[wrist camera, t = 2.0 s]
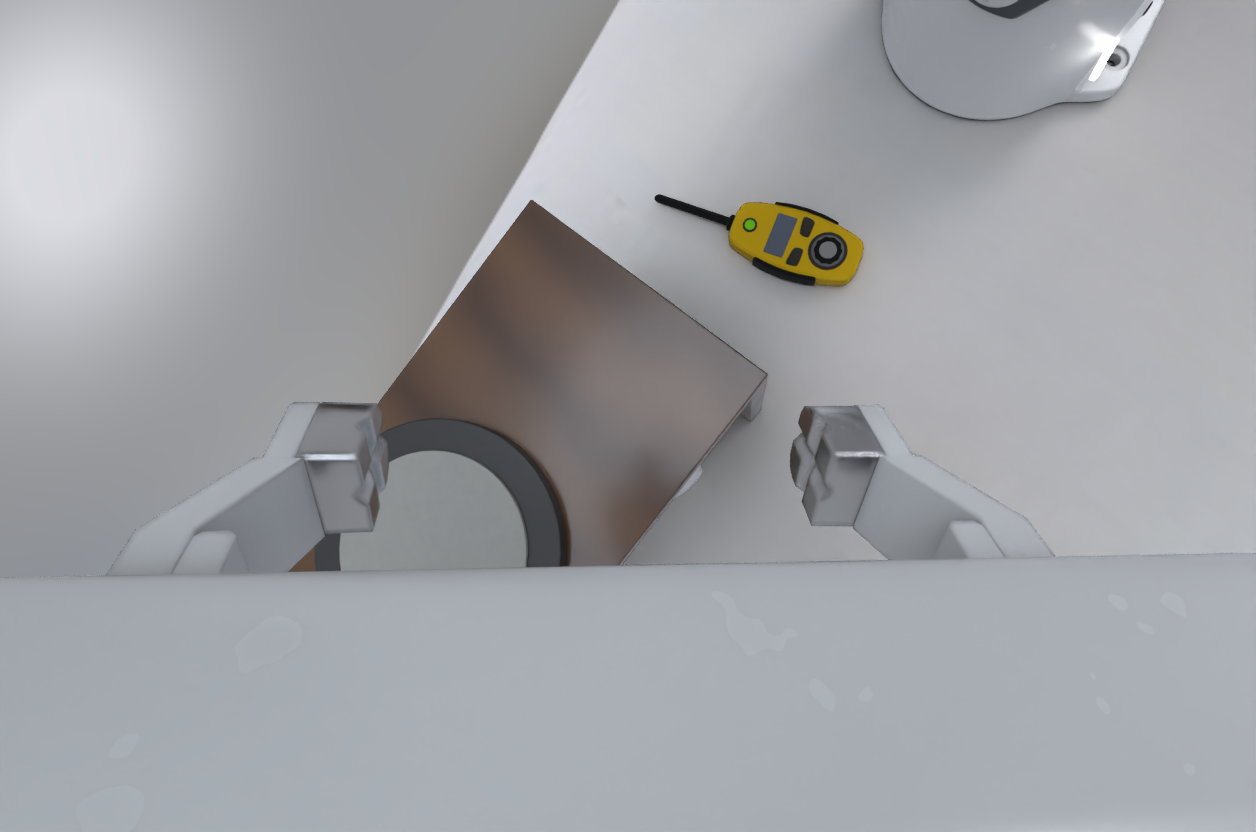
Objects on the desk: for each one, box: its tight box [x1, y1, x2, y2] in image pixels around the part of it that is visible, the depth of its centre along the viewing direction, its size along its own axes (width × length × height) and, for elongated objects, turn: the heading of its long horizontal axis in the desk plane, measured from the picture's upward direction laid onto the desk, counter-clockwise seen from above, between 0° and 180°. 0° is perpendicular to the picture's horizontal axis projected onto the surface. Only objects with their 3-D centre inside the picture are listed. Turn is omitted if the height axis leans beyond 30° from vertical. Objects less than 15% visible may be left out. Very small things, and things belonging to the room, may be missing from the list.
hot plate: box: [314, 418, 566, 571], centre depth 32 cm, size 12×12×1 cm
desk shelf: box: [288, 200, 768, 572], centre depth 41 cm, size 23×14×18 cm, turn 142°
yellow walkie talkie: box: [655, 195, 864, 286], centre depth 49 cm, size 5×2×15 cm
